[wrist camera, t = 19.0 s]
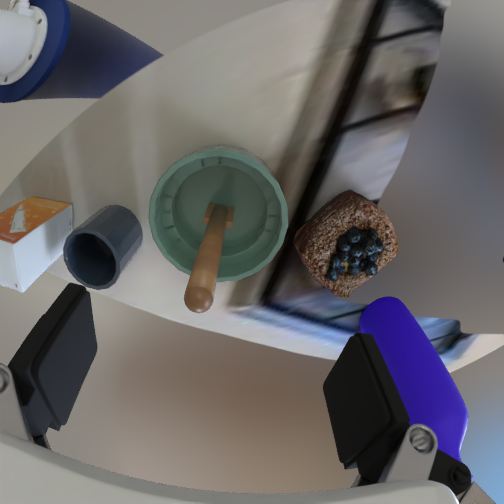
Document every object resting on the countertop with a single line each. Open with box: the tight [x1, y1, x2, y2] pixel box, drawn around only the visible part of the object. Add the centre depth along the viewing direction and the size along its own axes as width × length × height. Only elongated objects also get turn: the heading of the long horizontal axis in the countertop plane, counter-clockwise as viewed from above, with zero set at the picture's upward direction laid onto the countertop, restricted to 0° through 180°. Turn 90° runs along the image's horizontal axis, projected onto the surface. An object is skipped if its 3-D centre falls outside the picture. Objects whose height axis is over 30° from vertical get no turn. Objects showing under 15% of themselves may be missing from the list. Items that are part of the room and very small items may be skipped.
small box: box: [0, 196, 73, 293], centre depth 29 cm, size 8×6×13 cm
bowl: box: [149, 145, 288, 282], centre depth 32 cm, size 14×14×6 cm
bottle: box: [360, 297, 473, 480], centre depth 29 cm, size 8×8×30 cm
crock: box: [63, 205, 142, 290], centre depth 32 cm, size 7×7×8 cm
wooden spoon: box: [184, 203, 235, 313], centre depth 26 cm, size 2×3×19 cm, turn 78°
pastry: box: [293, 190, 399, 298], centre depth 34 cm, size 11×12×6 cm
